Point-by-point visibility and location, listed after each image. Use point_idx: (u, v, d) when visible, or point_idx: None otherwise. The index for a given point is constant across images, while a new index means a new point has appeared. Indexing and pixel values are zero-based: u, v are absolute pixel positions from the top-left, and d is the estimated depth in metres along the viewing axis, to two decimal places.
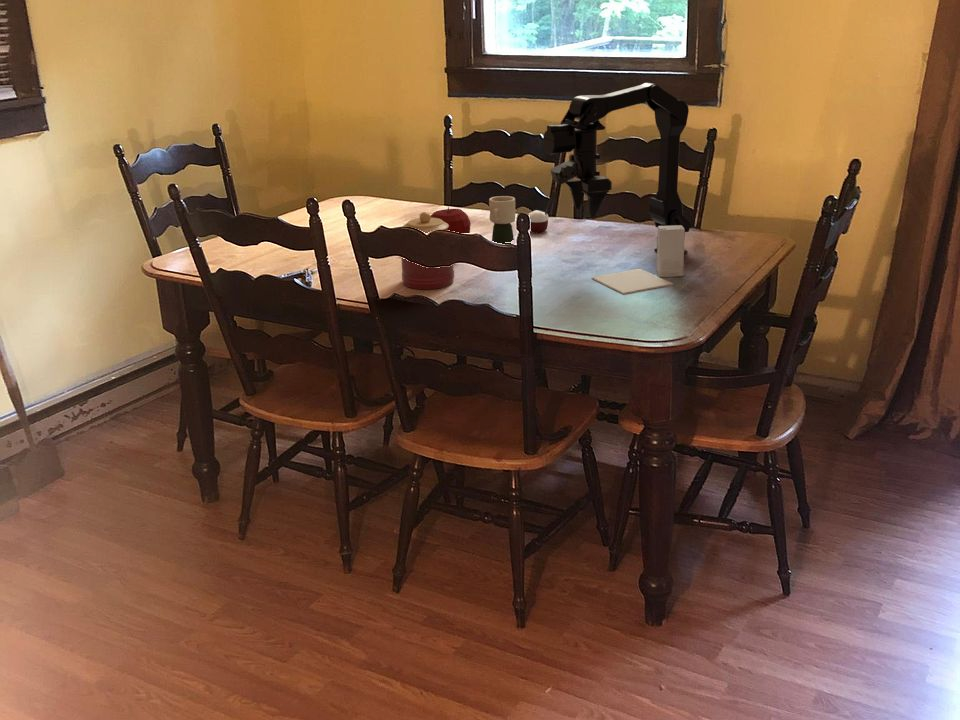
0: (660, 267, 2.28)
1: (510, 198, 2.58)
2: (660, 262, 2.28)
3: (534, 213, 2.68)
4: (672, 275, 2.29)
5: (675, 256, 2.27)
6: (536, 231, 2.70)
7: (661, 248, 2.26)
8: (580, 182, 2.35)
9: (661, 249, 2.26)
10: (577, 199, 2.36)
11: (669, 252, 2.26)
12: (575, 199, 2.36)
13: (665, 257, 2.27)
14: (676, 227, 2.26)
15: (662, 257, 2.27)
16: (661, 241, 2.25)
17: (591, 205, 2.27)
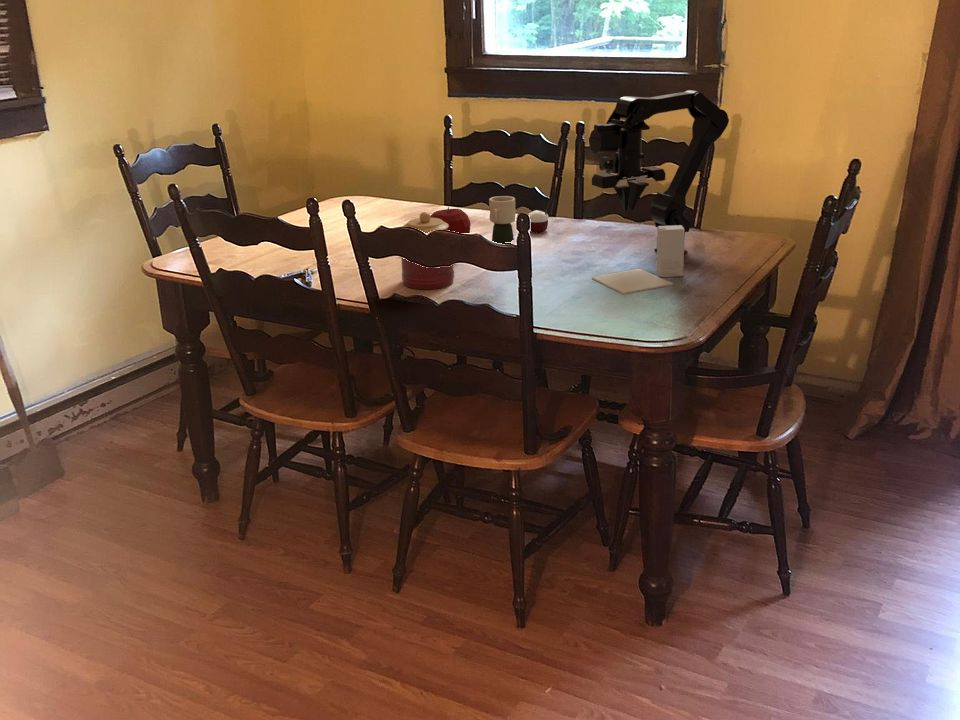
0: (660, 267, 2.28)
1: (510, 198, 2.58)
2: (660, 262, 2.28)
3: (534, 213, 2.68)
4: (672, 275, 2.29)
5: (675, 256, 2.27)
6: (536, 231, 2.70)
7: (661, 248, 2.26)
8: (635, 185, 2.36)
9: (661, 249, 2.26)
10: (630, 200, 2.38)
11: (669, 252, 2.26)
12: (629, 200, 2.38)
13: (665, 257, 2.27)
14: (676, 227, 2.26)
15: (662, 257, 2.27)
16: (661, 241, 2.25)
17: (619, 198, 2.37)
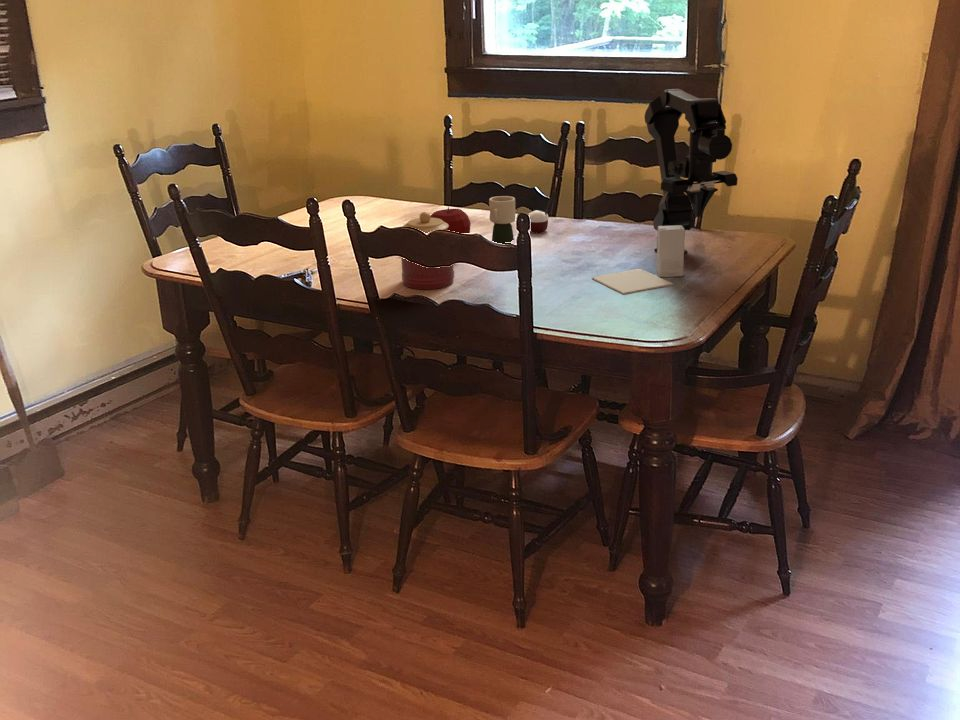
0: (660, 267, 2.28)
1: (510, 198, 2.58)
2: (660, 262, 2.28)
3: (534, 213, 2.68)
4: (672, 275, 2.29)
5: (675, 256, 2.27)
6: (536, 231, 2.70)
7: (661, 248, 2.26)
8: (703, 190, 2.27)
9: (661, 249, 2.26)
10: None
11: (669, 252, 2.26)
12: None
13: (665, 257, 2.27)
14: (676, 227, 2.26)
15: (662, 257, 2.27)
16: (661, 241, 2.25)
17: (691, 203, 2.29)
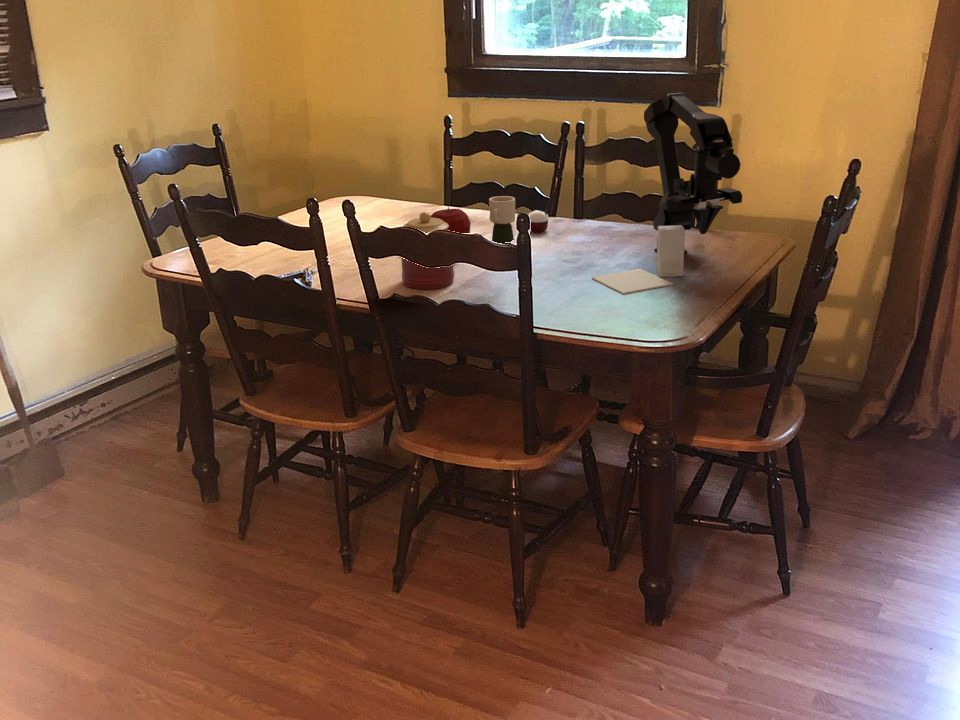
0: (660, 267, 2.28)
1: (510, 198, 2.58)
2: (660, 262, 2.28)
3: (534, 213, 2.68)
4: (672, 275, 2.29)
5: (675, 256, 2.27)
6: (536, 231, 2.70)
7: (661, 248, 2.26)
8: (709, 208, 2.28)
9: (661, 249, 2.26)
10: None
11: (669, 252, 2.26)
12: None
13: (665, 257, 2.27)
14: (676, 227, 2.26)
15: (662, 257, 2.27)
16: (661, 241, 2.25)
17: (697, 221, 2.30)
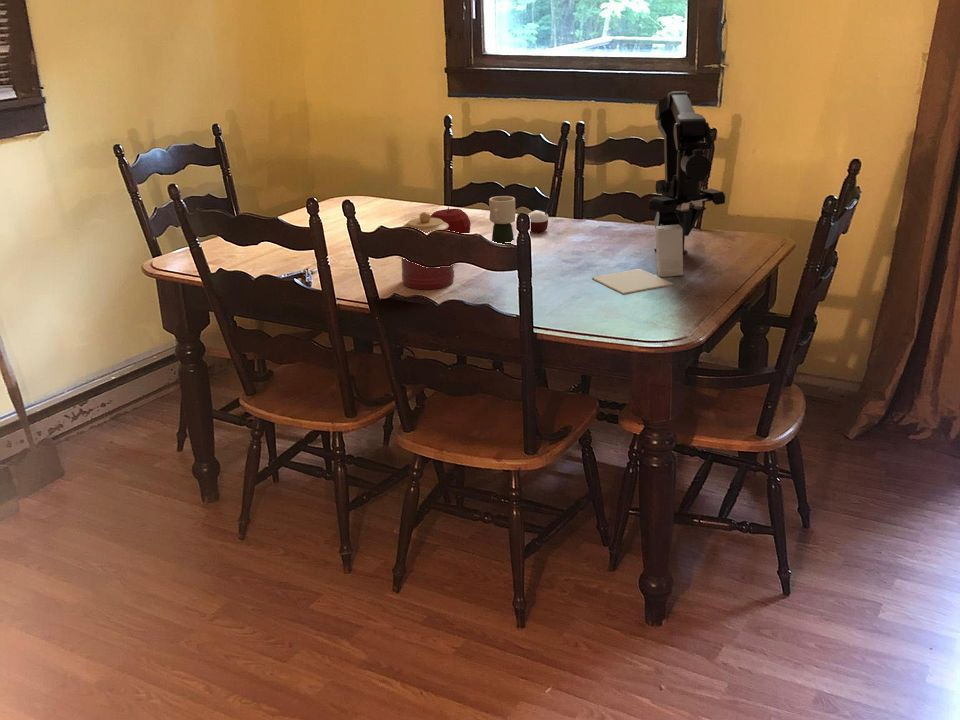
0: (659, 267, 2.28)
1: (510, 198, 2.58)
2: (659, 262, 2.27)
3: (534, 213, 2.68)
4: (672, 274, 2.29)
5: (674, 256, 2.27)
6: (536, 231, 2.70)
7: (659, 248, 2.26)
8: (691, 209, 2.26)
9: (660, 249, 2.26)
10: None
11: (667, 252, 2.26)
12: None
13: (664, 258, 2.27)
14: (674, 227, 2.25)
15: (661, 257, 2.27)
16: (659, 241, 2.25)
17: (680, 222, 2.28)
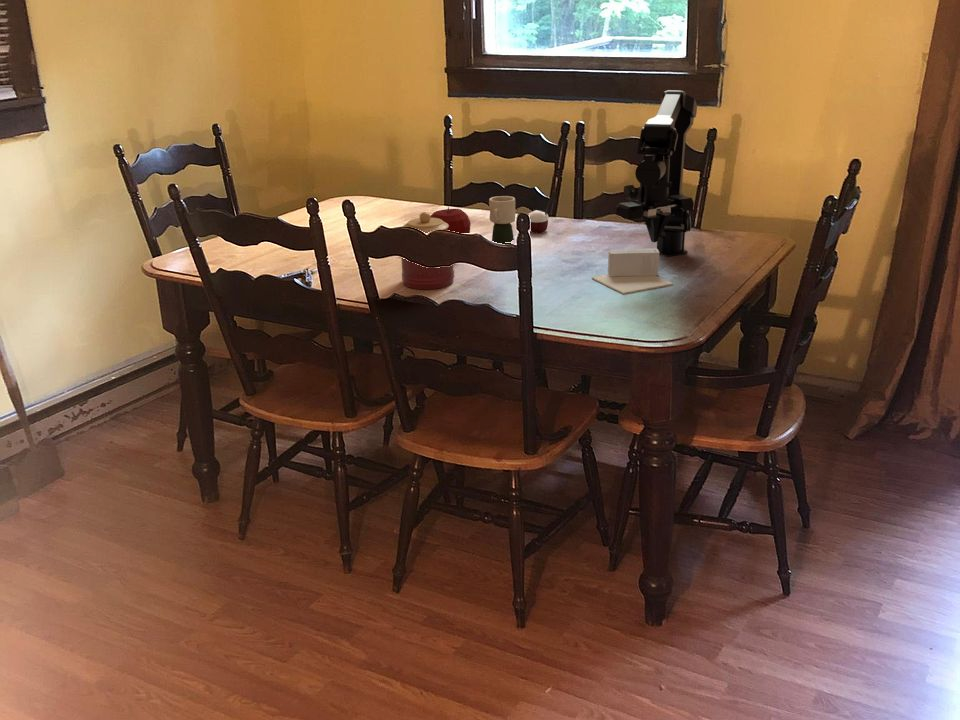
0: (648, 274, 2.29)
1: (510, 198, 2.58)
2: (642, 275, 2.29)
3: (534, 213, 2.68)
4: (657, 262, 2.28)
5: (638, 261, 2.27)
6: (536, 231, 2.70)
7: (628, 275, 2.29)
8: (659, 215, 2.22)
9: (629, 275, 2.29)
10: None
11: (633, 267, 2.28)
12: None
13: (638, 270, 2.28)
14: (609, 258, 2.29)
15: (637, 273, 2.29)
16: (621, 275, 2.29)
17: (647, 228, 2.24)
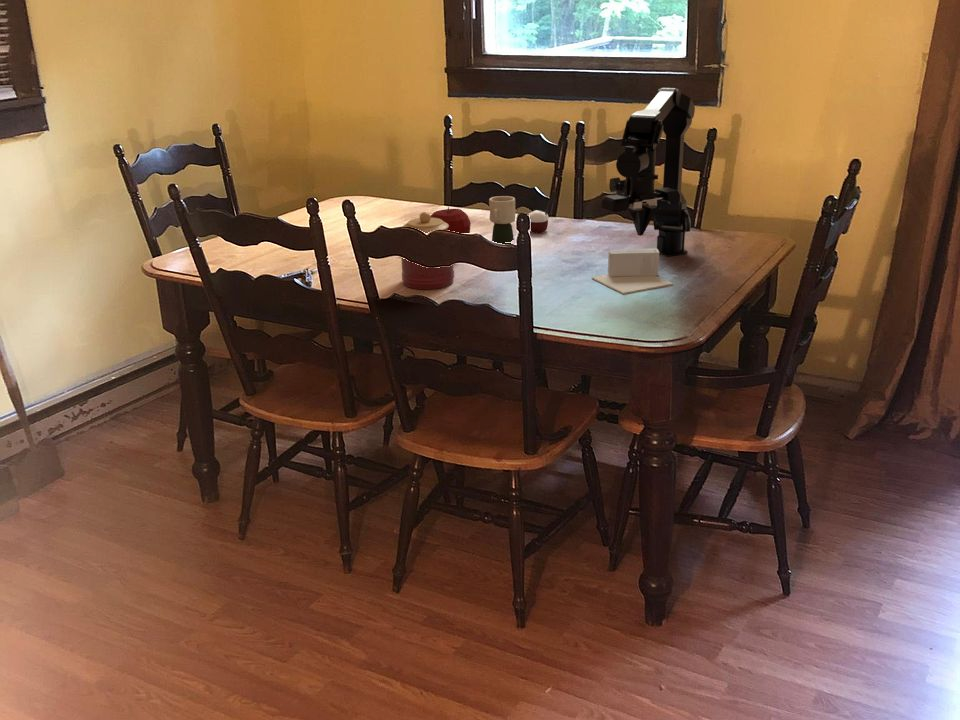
0: (648, 274, 2.29)
1: (510, 198, 2.58)
2: (642, 275, 2.29)
3: (534, 213, 2.68)
4: (657, 262, 2.28)
5: (638, 261, 2.27)
6: (536, 231, 2.70)
7: (628, 275, 2.29)
8: (646, 208, 2.20)
9: (629, 275, 2.29)
10: None
11: (633, 267, 2.28)
12: None
13: (638, 270, 2.28)
14: (609, 258, 2.29)
15: (637, 273, 2.29)
16: (621, 275, 2.29)
17: None
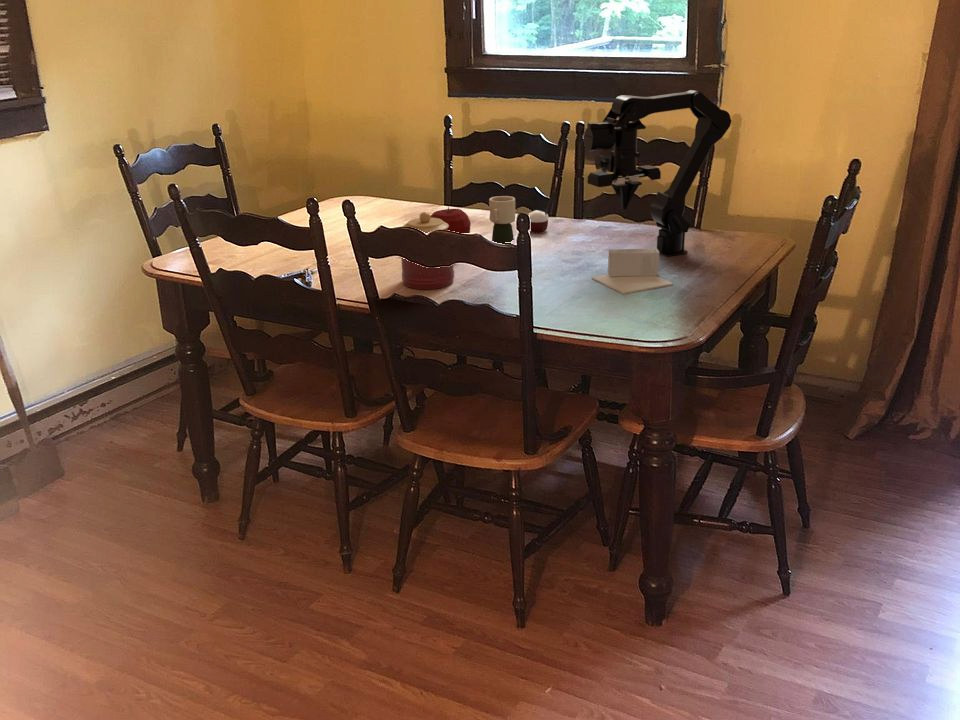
0: (648, 274, 2.29)
1: (510, 198, 2.58)
2: (642, 275, 2.29)
3: (534, 213, 2.68)
4: (657, 262, 2.28)
5: (638, 261, 2.27)
6: (536, 231, 2.70)
7: (628, 275, 2.29)
8: (628, 184, 2.37)
9: (629, 275, 2.29)
10: None
11: (633, 267, 2.28)
12: None
13: (638, 270, 2.28)
14: (609, 258, 2.29)
15: (637, 273, 2.29)
16: (621, 275, 2.29)
17: (617, 197, 2.39)
